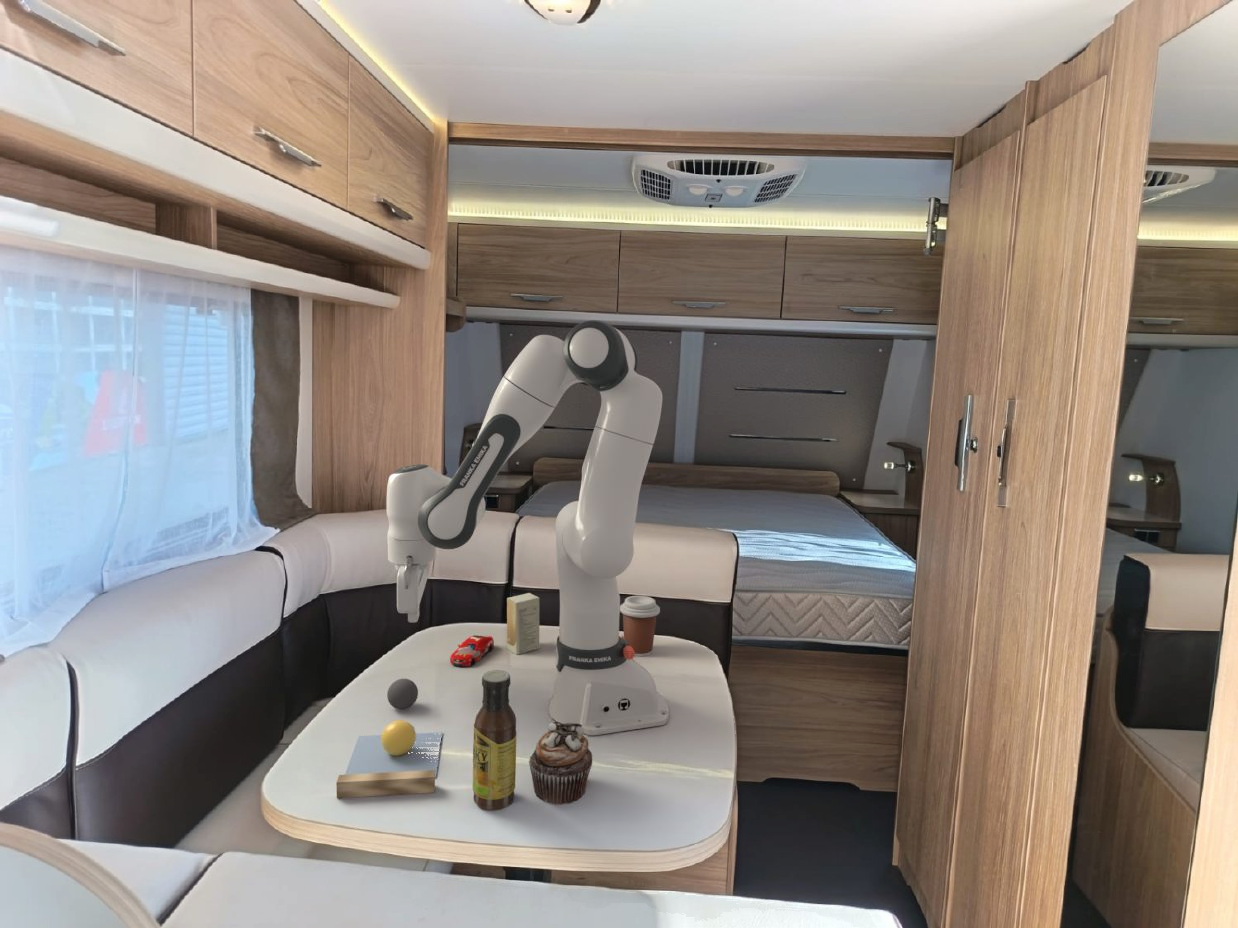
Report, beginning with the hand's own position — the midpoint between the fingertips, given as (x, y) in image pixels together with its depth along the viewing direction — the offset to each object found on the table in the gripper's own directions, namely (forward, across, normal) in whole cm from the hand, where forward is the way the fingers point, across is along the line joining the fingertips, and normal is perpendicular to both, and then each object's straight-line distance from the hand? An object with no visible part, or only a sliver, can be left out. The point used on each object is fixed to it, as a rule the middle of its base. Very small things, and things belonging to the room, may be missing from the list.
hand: (413, 619), depth 144 cm
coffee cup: (+16, +17, -47) cm, 53 cm away
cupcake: (+15, -36, -25) cm, 47 cm away
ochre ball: (+12, -23, 0) cm, 26 cm away
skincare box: (+15, +20, -22) cm, 33 cm away
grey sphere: (+12, -7, +2) cm, 14 cm away
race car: (+15, +17, -10) cm, 25 cm away
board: (+15, -24, +1) cm, 28 cm away
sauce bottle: (+15, -38, -15) cm, 44 cm away
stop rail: (+15, -34, +1) cm, 37 cm away
